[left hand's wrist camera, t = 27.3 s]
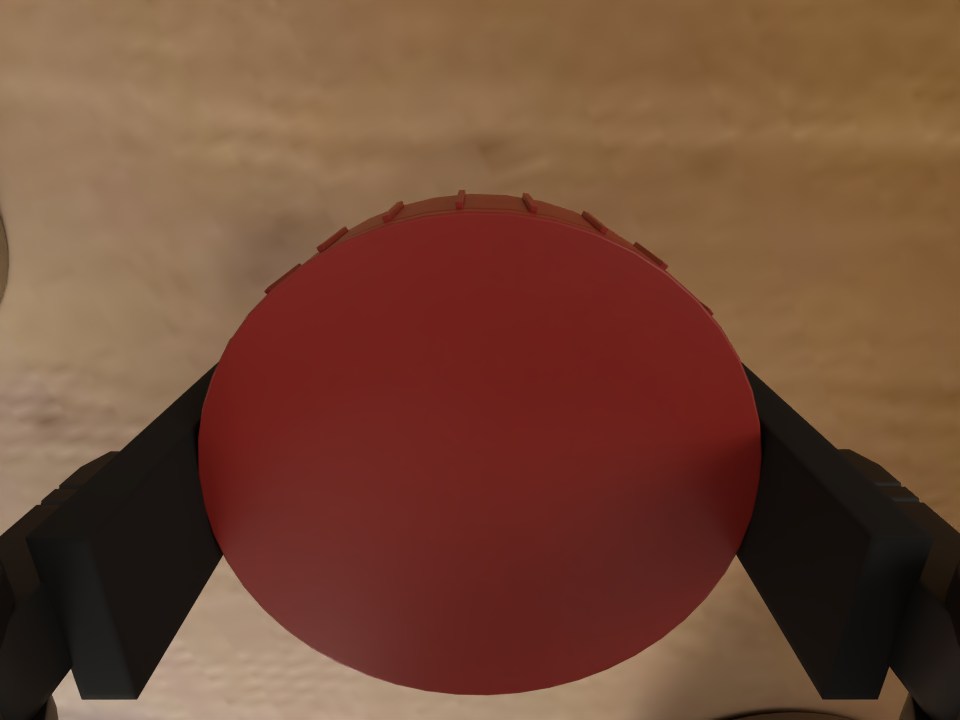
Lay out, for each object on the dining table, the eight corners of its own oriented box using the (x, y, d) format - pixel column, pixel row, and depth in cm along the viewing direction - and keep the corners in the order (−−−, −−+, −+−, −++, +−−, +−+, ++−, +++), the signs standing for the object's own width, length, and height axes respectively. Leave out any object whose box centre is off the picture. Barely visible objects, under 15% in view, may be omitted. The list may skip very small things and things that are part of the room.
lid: (489, 670, 15) (490, 765, 12) (152, 440, 12) (82, 508, 10) (809, 420, 12) (882, 485, 10) (464, 64, 10) (460, 46, 7)
